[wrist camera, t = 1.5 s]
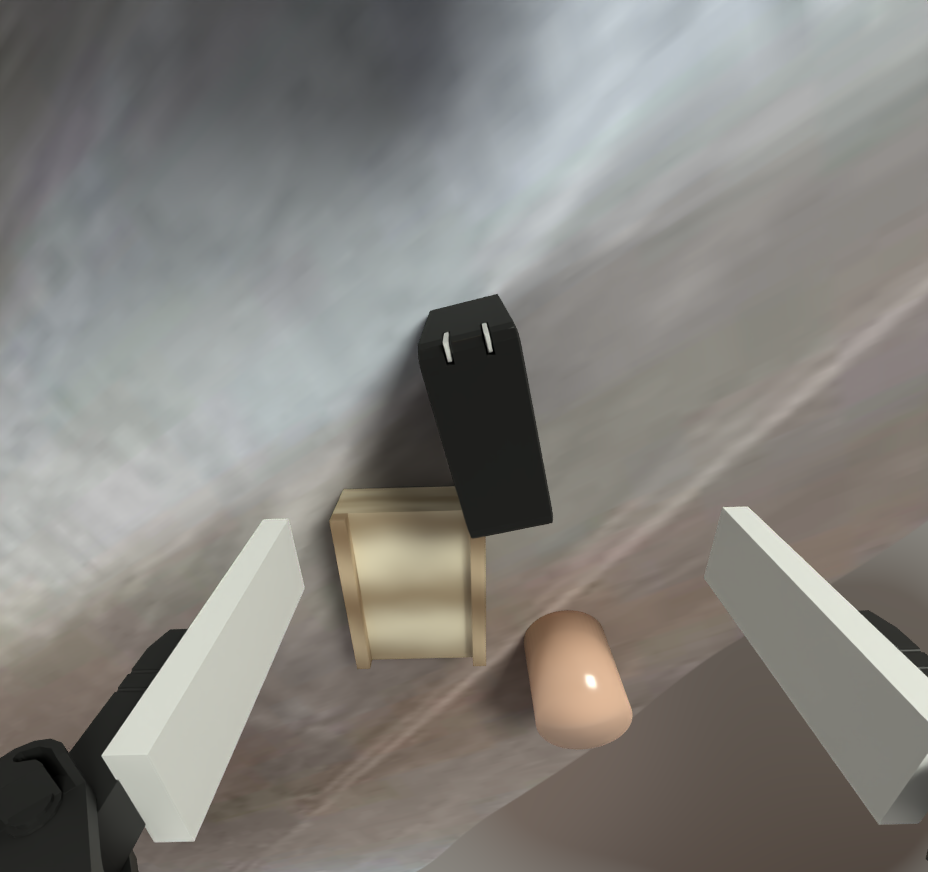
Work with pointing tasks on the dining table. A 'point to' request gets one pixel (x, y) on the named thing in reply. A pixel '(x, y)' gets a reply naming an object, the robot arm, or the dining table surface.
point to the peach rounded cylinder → (574, 682)
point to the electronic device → (485, 416)
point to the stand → (410, 574)
